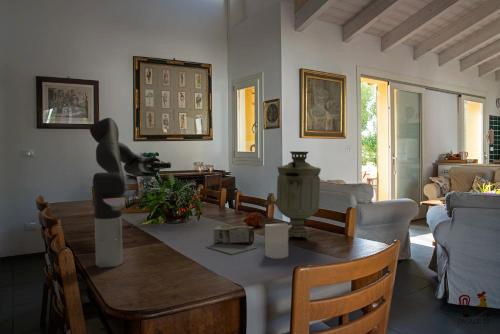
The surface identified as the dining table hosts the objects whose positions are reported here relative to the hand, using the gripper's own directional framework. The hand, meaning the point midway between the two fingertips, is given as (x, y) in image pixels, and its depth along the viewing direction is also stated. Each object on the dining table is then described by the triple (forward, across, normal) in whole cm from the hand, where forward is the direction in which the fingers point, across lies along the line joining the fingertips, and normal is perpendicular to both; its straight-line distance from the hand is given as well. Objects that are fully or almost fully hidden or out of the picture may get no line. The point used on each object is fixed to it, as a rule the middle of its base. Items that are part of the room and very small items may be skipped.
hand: (169, 165), depth 175 cm
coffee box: (+18, +12, +30) cm, 37 cm away
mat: (+31, +10, +34) cm, 47 cm away
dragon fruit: (+6, +48, +34) cm, 59 cm away
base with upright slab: (+52, +15, +34) cm, 64 cm away
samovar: (+37, +43, +34) cm, 66 cm away
